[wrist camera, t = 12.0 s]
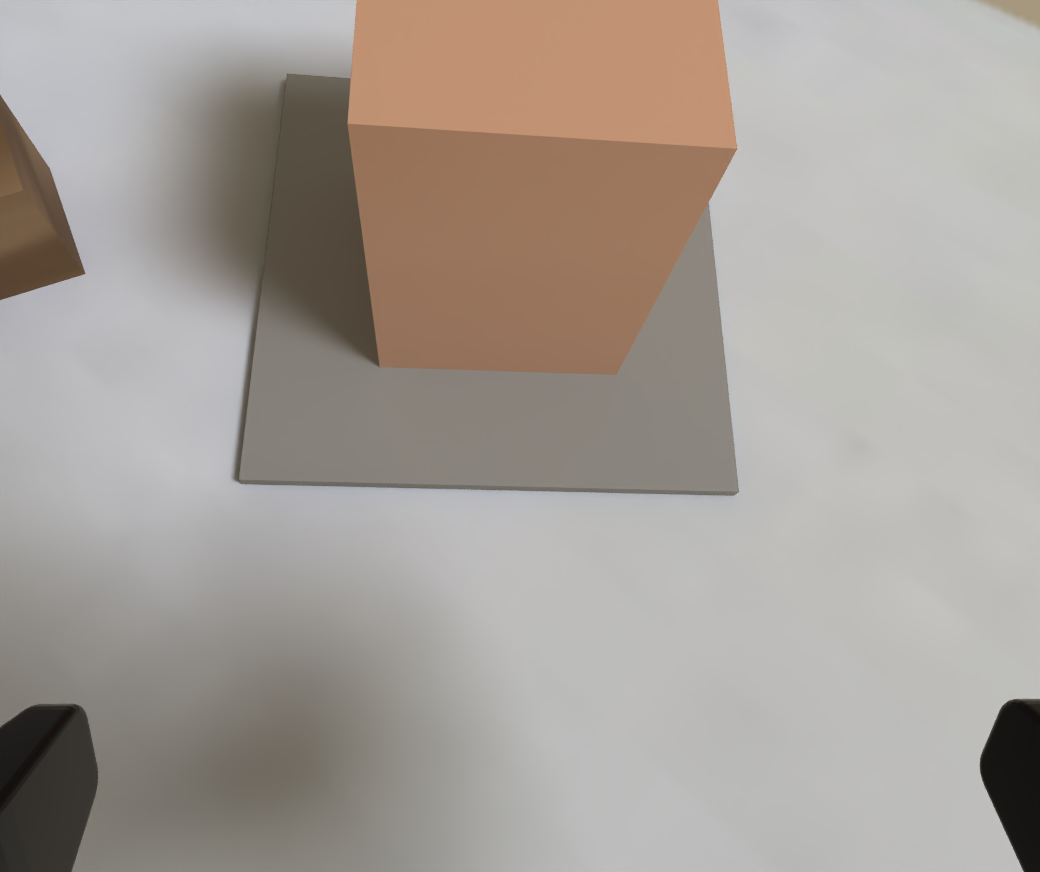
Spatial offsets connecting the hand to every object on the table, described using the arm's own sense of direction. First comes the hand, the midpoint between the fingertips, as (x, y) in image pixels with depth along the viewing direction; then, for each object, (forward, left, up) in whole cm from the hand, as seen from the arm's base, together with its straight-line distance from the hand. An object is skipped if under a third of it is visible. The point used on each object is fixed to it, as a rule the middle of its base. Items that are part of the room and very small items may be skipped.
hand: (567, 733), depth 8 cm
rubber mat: (+13, +4, -14) cm, 19 cm away
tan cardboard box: (+13, +4, -13) cm, 19 cm away
